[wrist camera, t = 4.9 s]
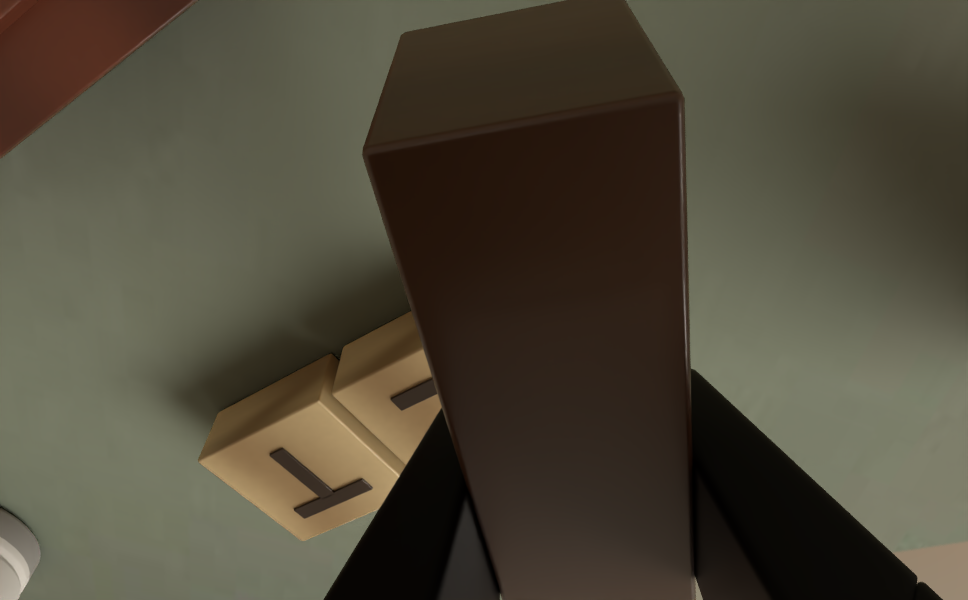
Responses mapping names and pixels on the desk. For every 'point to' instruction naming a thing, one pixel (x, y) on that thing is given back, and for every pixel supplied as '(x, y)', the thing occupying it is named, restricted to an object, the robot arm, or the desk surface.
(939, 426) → the desk surface
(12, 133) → the tile rack
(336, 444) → the letter tile T
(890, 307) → the desk surface
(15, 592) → the travel mug
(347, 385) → the letter tile L
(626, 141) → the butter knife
